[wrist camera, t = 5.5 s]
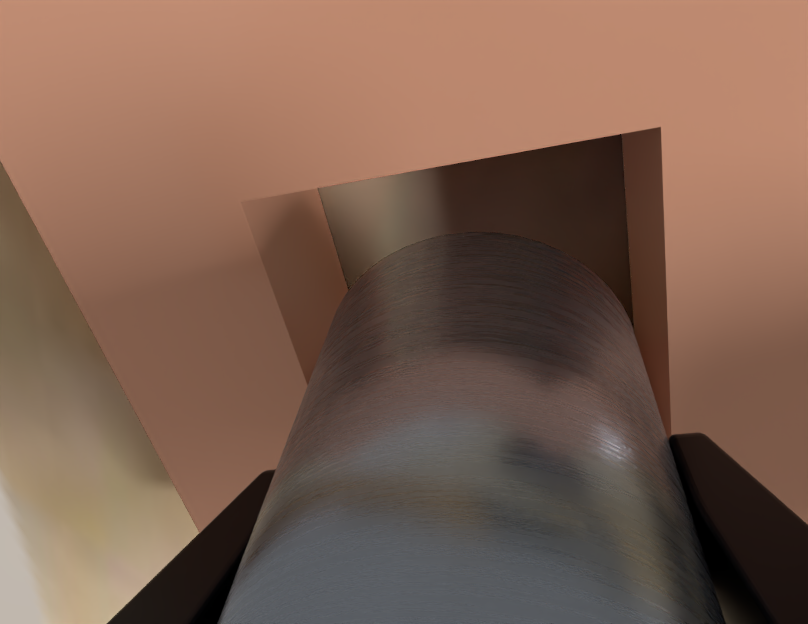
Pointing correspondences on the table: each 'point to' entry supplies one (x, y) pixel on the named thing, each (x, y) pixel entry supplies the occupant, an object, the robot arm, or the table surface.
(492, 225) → the table surface
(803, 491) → the hub block
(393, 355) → the steel peg
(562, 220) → the table surface
